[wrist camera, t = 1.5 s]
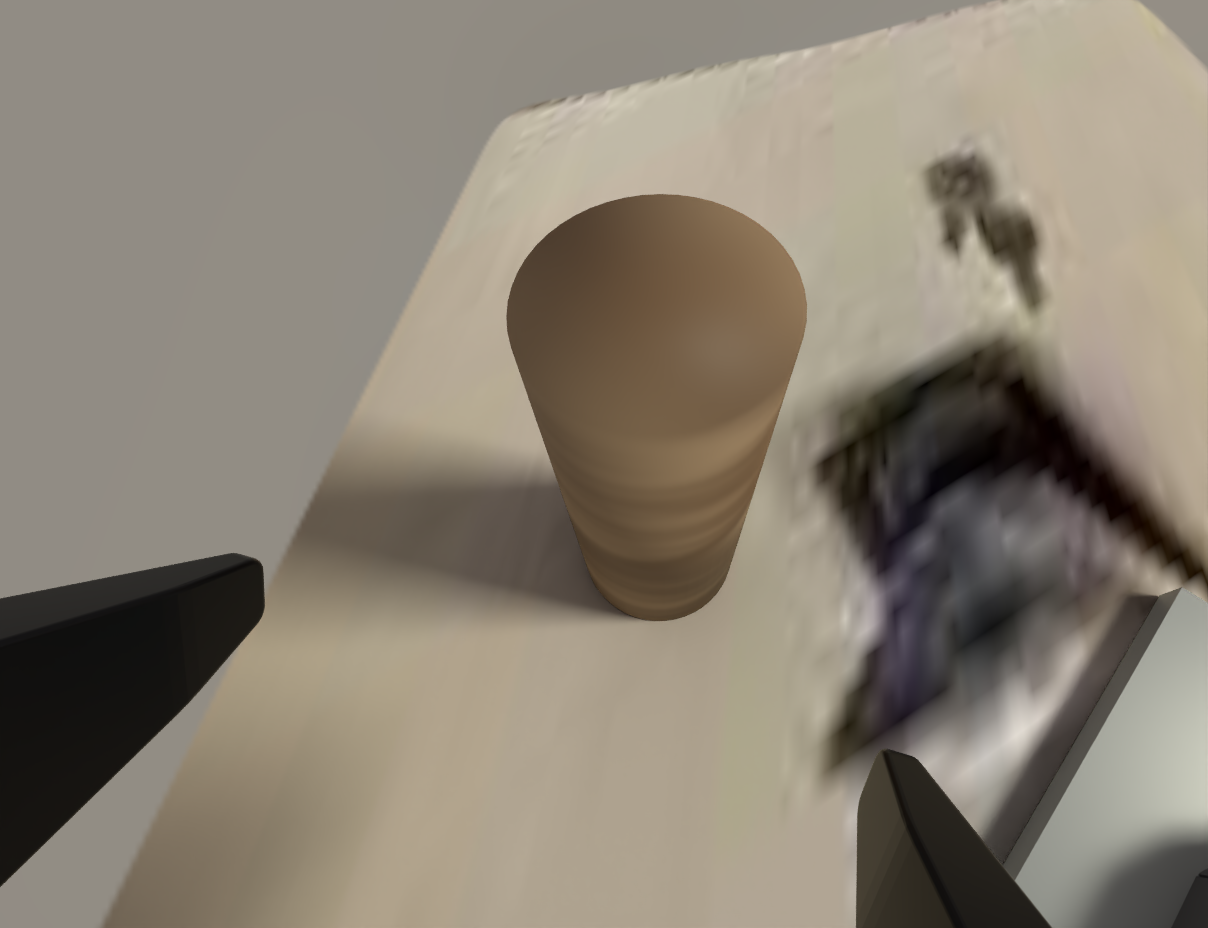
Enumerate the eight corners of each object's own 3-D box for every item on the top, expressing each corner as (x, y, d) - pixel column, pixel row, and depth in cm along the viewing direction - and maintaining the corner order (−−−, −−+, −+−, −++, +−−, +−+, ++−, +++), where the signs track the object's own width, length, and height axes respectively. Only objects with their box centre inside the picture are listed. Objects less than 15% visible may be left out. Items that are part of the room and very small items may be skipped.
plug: (667, 653, 21) (675, 497, 10) (555, 556, 23) (445, 322, 11) (761, 540, 23) (867, 282, 11) (648, 456, 24) (637, 156, 13)
